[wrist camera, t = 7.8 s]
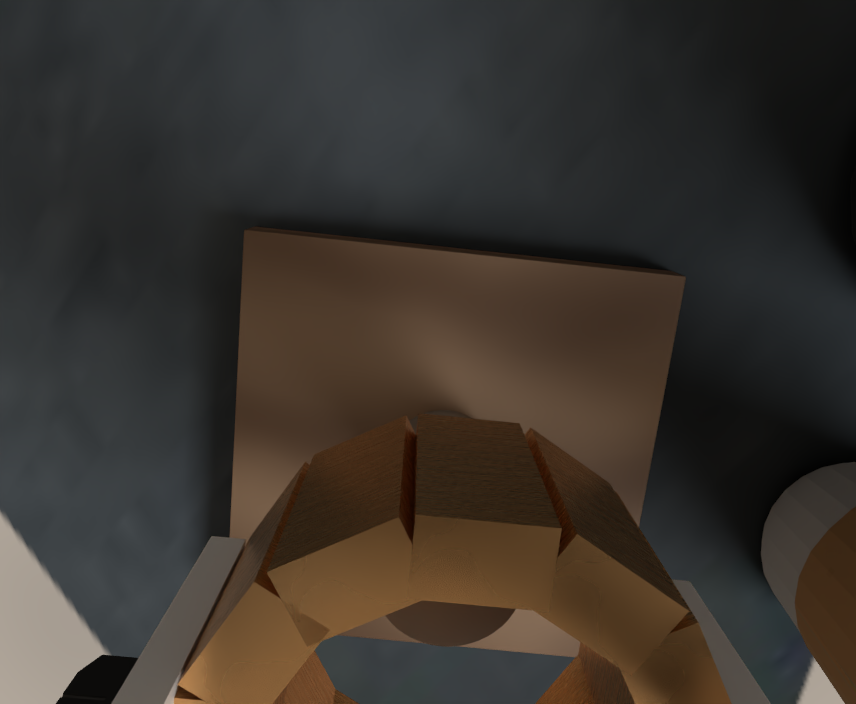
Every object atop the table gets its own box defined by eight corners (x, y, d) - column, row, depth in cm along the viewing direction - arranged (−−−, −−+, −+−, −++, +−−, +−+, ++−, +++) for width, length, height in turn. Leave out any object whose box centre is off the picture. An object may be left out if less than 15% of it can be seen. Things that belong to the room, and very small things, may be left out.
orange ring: (254, 396, 16) (179, 492, 11) (679, 439, 16) (791, 549, 11) (234, 762, 18) (163, 980, 13) (611, 794, 18) (681, 1019, 13)
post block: (255, 226, 25) (159, 256, 16) (670, 270, 25) (802, 323, 16) (236, 600, 28) (148, 797, 19) (603, 635, 28) (683, 843, 19)
